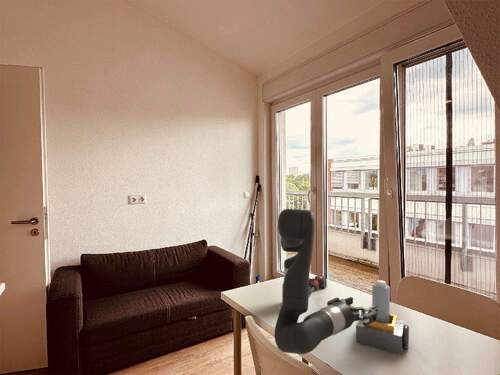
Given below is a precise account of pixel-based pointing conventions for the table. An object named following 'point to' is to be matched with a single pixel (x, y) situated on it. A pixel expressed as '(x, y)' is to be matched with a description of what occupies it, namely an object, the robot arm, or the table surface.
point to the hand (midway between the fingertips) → (363, 304)
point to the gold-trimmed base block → (384, 335)
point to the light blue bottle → (381, 301)
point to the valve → (317, 283)
